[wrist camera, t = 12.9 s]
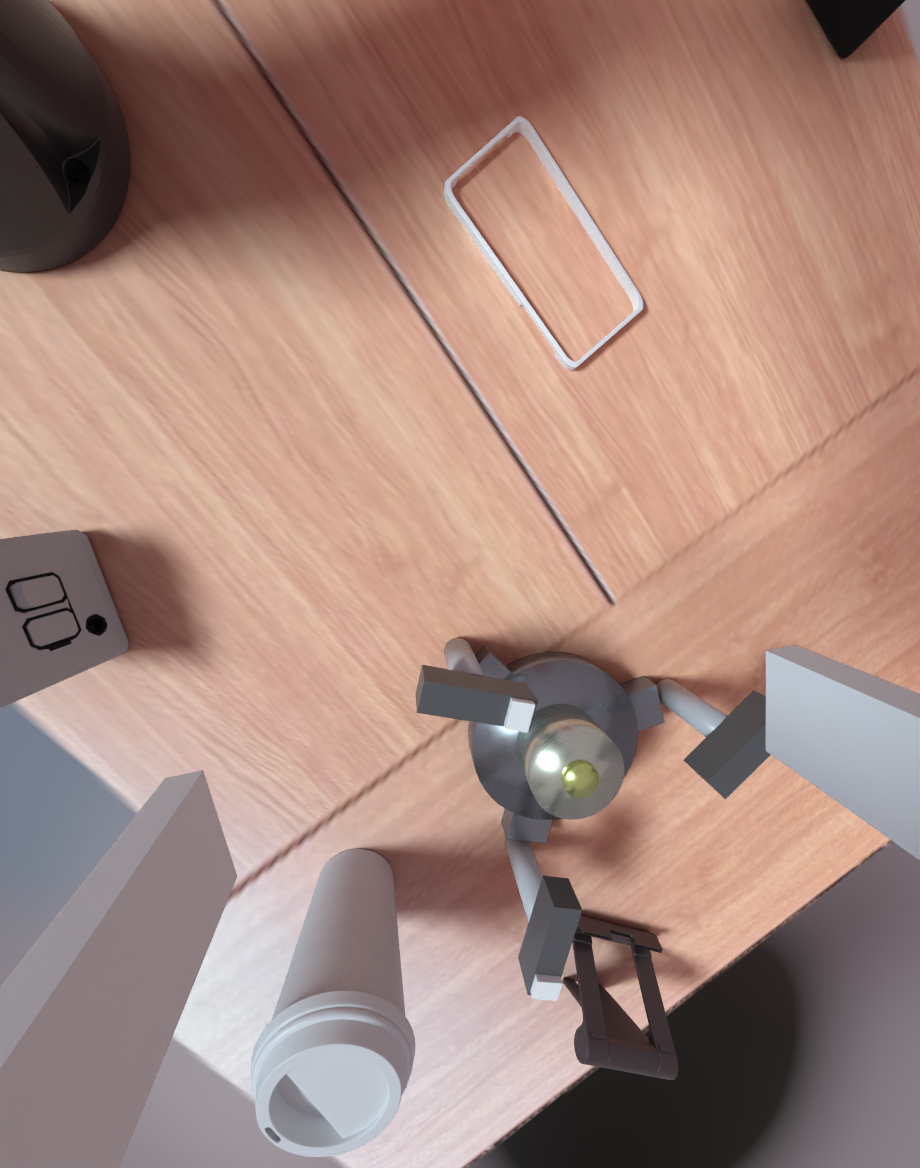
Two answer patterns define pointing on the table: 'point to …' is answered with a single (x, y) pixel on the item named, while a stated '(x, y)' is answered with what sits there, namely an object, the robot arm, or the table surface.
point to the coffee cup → (338, 1018)
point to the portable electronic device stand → (605, 1023)
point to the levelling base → (547, 689)
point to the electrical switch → (52, 613)
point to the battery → (851, 20)
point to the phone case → (530, 134)
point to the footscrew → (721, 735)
